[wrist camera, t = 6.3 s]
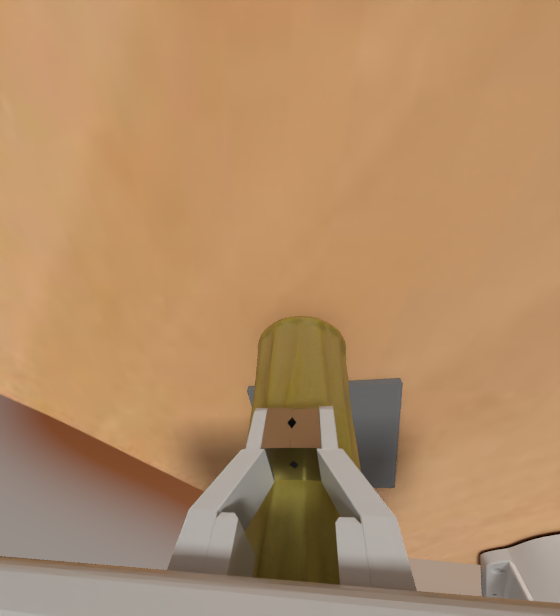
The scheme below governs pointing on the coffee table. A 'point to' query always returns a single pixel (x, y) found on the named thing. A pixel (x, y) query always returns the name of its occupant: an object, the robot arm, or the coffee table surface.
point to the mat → (374, 427)
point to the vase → (301, 493)
